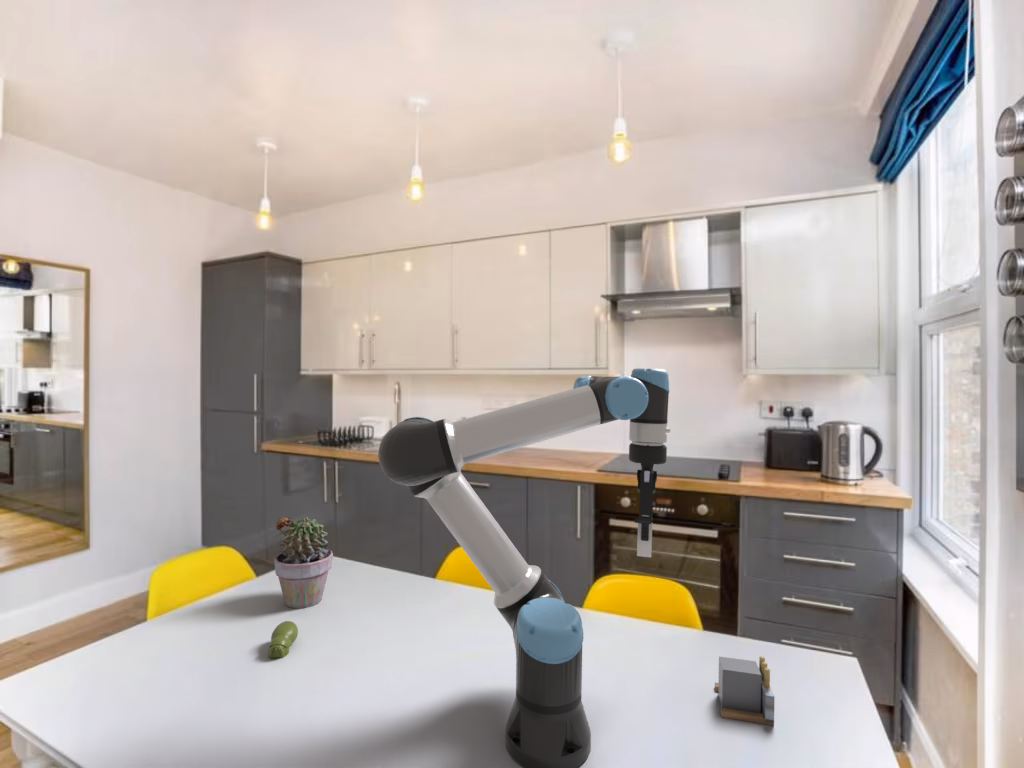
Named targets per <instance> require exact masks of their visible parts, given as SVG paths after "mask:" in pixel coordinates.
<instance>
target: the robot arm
mask: <svg viewBox="0 0 1024 768" xmlns="http://www.w3.org/2000/svg"><path fill="white" fill-rule="evenodd" d="M669 394H670V381H669V373H668V371H667V370H666V369H663V368H642V367H641V368H640V367H639V368H638V367H637V368H633V369H632V370H631V375H619V376H597V375H596V376H595V375H587V376H584V375H583V376H581V375H580V376H578V377H576V379H575V380H574V382H573V387H572V389H568V390H565V391H561V392H558V393H554V394H550V395H547V396H544V397H539V398H535V399H532V400H529V401H524V402H522V403H521V402H520V403H518V404H515V405H514V404H513V405H511V406H507V407H503V408H500V409H496V410H493V411H489V412H486V413H481V414H478V415H474V416H471V417H468V418H464V419H461V420H456V421H451V420H449V419H447V418H442V419H439V420H436V421H434V420H431V419H429V418H426V417H423V416H413V417H412V416H411V417H409V418H405V419H403V420H402V421H400V422H398V423H397V424H396V425H395V426H393V427H392V428H391V429H389V430H388V431H387V432H386V433H385V435H383V437H382V439H381V440H380V443H379V447H378V453H377V455H378V456H377V457H378V462H379V466H380V468H381V470H382V472H383V473H384V475H385V476H386V477H387V478H388V479H389V480H390V481H392V482H393V483H396V484H398V485H401V486H405V487H406V488H407V489H408V490H409V491H410V492H411V494H412V496H414V498H422V499H425V500H426V501H427V502H428V503H429V506H430V507H432V509H433V510H434V511H435V513H436V515H437V516H438V517H439V519H440V520H441V521H442V523H443V524H444V525H445V527H446V529H448V531H449V532H450V533H451V535H452V537H454V540H456V542H457V543H458V544H459V546H460V547H461V548H462V550H463V551H464V553H465V554H466V555H467V557H469V559H470V561H471V562H472V564H473V565H474V566H475V567H476V568H477V570H478V572H479V573H480V574H481V576H482V577H483V579H484V580H485V581H486V582H487V584H488V585H489V586H490V588H491V589H492V591H493V592H494V597H493V604H494V606H495V609H497V611H498V612H499V613H500V615H501V616H502V618H504V620H505V622H506V623H507V624H508V625H509V627H510V629H511V630H512V631H511V632H512V637H513V641H514V647H515V654H516V655H515V657H516V661H515V662H516V663H515V665H516V667H515V669H516V670H515V672H516V673H515V675H516V677H515V698H514V701H513V705H512V707H511V710H510V712H509V716H508V719H507V721H506V725H505V741H504V742H505V747H506V750H507V752H508V754H509V755H510V757H511V758H512V759H513V760H514V761H515V763H518V764H519V765H520V766H522V767H524V768H578V767H580V766H581V765H582V764H583V763H585V761H586V760H587V759H588V758H589V755H590V753H591V750H592V745H591V744H592V733H591V728H590V725H589V721H588V718H587V715H586V711H585V709H584V704H583V701H582V688H583V684H582V682H583V681H582V680H583V642H584V634H585V633H584V628H583V621H582V617H581V615H580V613H579V611H578V610H577V608H575V606H573V605H572V604H570V603H566V601H565V600H564V597H563V594H562V593H561V591H560V590H559V588H558V586H556V584H554V583H553V581H551V580H549V578H548V577H547V576H546V575H545V573H544V572H543V571H542V569H541V568H540V566H538V565H533V564H529V563H527V561H526V560H525V558H524V557H523V556H522V554H521V553H520V551H518V549H517V547H516V546H515V545H514V544H513V542H512V541H511V540H510V538H509V537H508V535H507V534H506V532H505V531H504V530H503V528H502V527H501V525H500V524H499V522H498V521H497V520H496V519H495V517H494V515H492V513H491V511H490V510H489V509H488V508H487V506H486V505H485V504H484V502H483V501H482V499H481V498H480V496H479V495H478V494H477V493H476V492H475V490H474V488H473V487H472V486H471V485H470V483H469V481H467V479H466V477H465V476H464V474H463V473H462V468H463V467H464V465H465V464H469V463H471V462H472V463H473V462H476V461H479V460H483V459H486V458H489V457H493V456H496V455H499V454H502V453H507V452H510V451H514V450H517V449H520V448H524V447H527V446H530V445H534V444H537V443H540V442H545V441H548V440H551V439H555V438H558V437H561V436H565V435H569V434H572V433H575V432H578V431H582V430H585V429H589V428H592V427H595V426H599V425H604V424H607V423H610V422H614V421H618V420H621V421H628V420H629V433H628V434H629V435H628V439H629V441H631V443H630V444H629V446H628V460H629V461H630V462H632V463H635V464H640V466H641V467H640V468H641V469H637V470H636V471H637V472H636V480H637V492H638V494H639V505H638V507H639V508H638V517H635V518H634V523H636V524H637V540H636V542H637V545H636V546H637V547H636V556H637V557H643V558H652V552H653V551H652V548H653V547H652V545H653V520H654V519H653V507H656V501H654V499H653V498H654V496H653V495H654V494H655V493H656V482H657V481H658V479H657V478H658V471H657V470H654V465H663V464H664V465H665V463H666V462H667V456H668V455H667V453H668V452H667V451H668V447H667V445H666V444H665V443H667V440H668V435H667V433H669V434H670V433H671V428H670V427H668V416H669V415H668V412H669V399H670V398H669V397H670V396H669Z"/></svg>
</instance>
